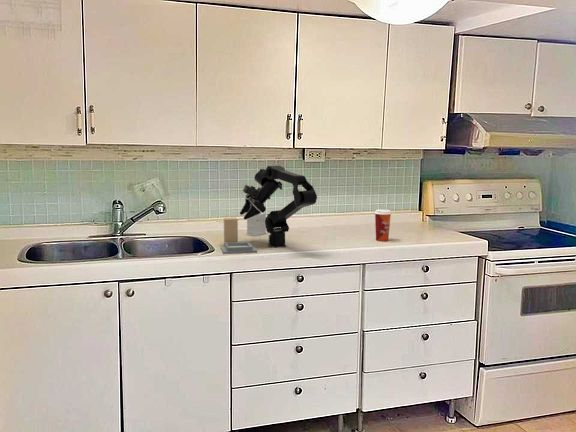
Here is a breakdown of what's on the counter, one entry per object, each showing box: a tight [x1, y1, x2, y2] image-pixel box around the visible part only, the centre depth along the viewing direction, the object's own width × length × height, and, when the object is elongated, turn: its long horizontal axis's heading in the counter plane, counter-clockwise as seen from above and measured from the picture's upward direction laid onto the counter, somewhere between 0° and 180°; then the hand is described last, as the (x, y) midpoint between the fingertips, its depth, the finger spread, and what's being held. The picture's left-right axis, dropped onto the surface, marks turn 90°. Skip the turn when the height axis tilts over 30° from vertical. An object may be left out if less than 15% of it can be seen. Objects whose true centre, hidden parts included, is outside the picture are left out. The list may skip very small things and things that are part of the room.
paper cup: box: [374, 208, 392, 242], centre depth 261 cm, size 8×8×14 cm
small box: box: [246, 212, 267, 237], centre depth 274 cm, size 8×6×10 cm
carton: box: [223, 216, 239, 246], centre depth 249 cm, size 6×6×12 cm
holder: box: [220, 241, 258, 255], centre depth 239 cm, size 14×12×2 cm
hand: (242, 216), depth 249 cm, fingers open, 9 cm apart
